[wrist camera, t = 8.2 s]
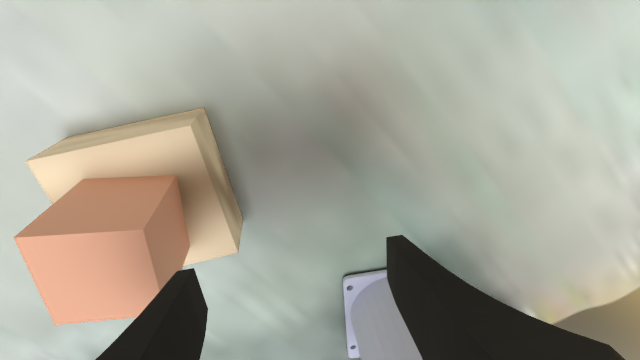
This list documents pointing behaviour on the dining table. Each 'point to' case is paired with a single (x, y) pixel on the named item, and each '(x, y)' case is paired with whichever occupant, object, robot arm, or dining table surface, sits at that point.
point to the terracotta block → (106, 247)
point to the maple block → (155, 172)
